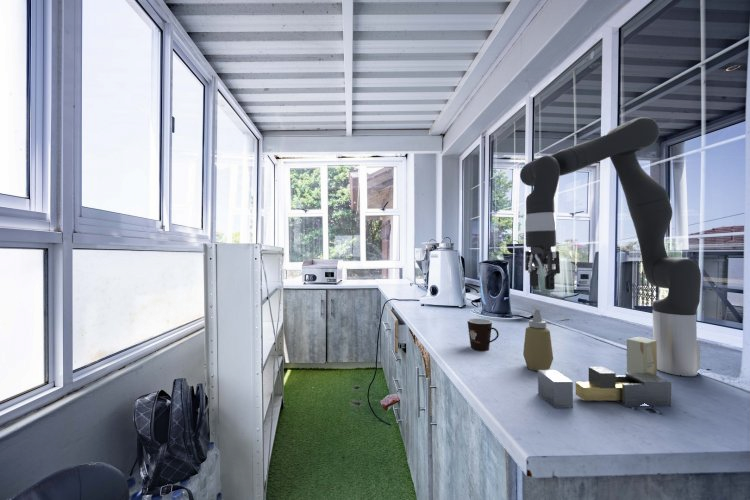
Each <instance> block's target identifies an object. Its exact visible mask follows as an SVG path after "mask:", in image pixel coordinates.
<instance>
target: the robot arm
mask: <svg viewBox="0 0 750 500" xmlns="http://www.w3.org/2000/svg"><path fill="white" fill-rule="evenodd" d="M659 137H660V127H659V124H658V122H656V120H655V119H653V118H650V117H648V116H647V117H646V116H642V117H641V116H640V117H637V118H633V119H631V120H629V121H626V122H624V123H622V124H620V125H618V126H616V127H614V128H612V129H610V130H609V131H608V132H607V134H604V135H602V136H599V137H596V138H592V139H590V140H587V141H584V142H580V143H578V144H575V145H572V146H569V147H567V148H564V149H561V150H559V151H557V152H555V153H553V154H551V155H543V156H540V157H538V158H535V159H534V160H532V161H530V162H528V163H525V165H524V166H523V167H522V168H521V170H520V173H519V177H520V181H521V183H523V184H524V185H526V186H527V187H528V186H529V187H533V189H532V191H531V193H529V194H528V195H527V196H526V199H525V225H524V226H525V227H524V228H525V247H526V248H531V250H525V253H524V254H525V256H524V257H525V258H524V259H525V260H524V261H525V262H524V270H525V272H526V271H527V273H528V274H529V286H530V287H538V286H539V285H540V284H539V271H540V270H542V271H543V274H544V289H545V290H546V291H554V290H555V288H556V287H555V276H557V275H558V274H559V275H560V273H561V268H560V267H561V266H560V265H561V263H560V262H561V261H560V252H559V250H552V248H553V247H556V246H557V226H556V224H557V222H556V214H555V195H556V192H557V191H558V190H557V189H558V185H559V181H560V177H562V176H565V175H569V174H572V173H574V172H577V171H580V170H582V169H585V168H587V167H590V166H592V165H594V164H597V163H598V162H601V161H603V160H606V159H608V158H609V159H610V160H611V163H612V165H613V167H614V169H615V171H616V174H617V177H618V179H619V182H620V185H621V189H622V191H623V193H624V197H625V201H626V205H627V208H628V212H629V215H630V218H631V221H632V223H633V226H634V230H635V233H636V237H637V241H638V244H639V245H638V246H639V250H640V251H639V252H640V255H641V262H642V267H643V268H642V269H643V272H644V275H645V278H646V280H647V281H648V283H649V284H650V285H652V286H653V287H656V288H661V289H667V290H668V293H667V296H666V297H663V298H662V299H661V298H660V299H655V300H654V301H653V302H652V339H653V340H657V371H661V372H662V373H666V374H671V375H674V376H680V375H681V376H682V377H696V376H697V375H698V374H697V371H698V370H699V369H701V366H702V365H701V362H702V361H701V341H700V340H699V339H697V334H698V333H697V309H698V307H699V305H700V302H701V301H700V299H701V284H702V273H701V269H700V266H699V265H698V263H697V262H696V261H695V260H693V259H691V258H685V257H669V256H668V254H667V250H666V246H665V238H666V237H665V236H666V233H667V231H668V228H669V227H670V224H671V221H672V218H673V208H672V204H671V202H670V198H669V194H668V192H667V189H665V187H663V185H662V184H661V183H660V182H658V181H657V180H656V179H655V178H653V177H652V176H651V175H650V174H648V173H647V172H646V171H645V170H644V169H643V168H642V166H641V164H640V162H639V159H638V157H637V154H636V153H638V152H641V151H644V150H646V149H648V148H650V147H651V146H653V145H654V144H655V143H656V142H657V140H658V139H659Z"/></svg>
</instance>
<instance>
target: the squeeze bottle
mask: <svg viewBox="0 0 750 500" xmlns="http://www.w3.org/2000/svg"><path fill="white" fill-rule="evenodd" d="M523 343H524V344H523V354H522V355H523V358H524V361H525V364H526V366H527V368H528V369H529V370H532V371H536V372H538V370H551V366H552V363H553V362H554V361H553V360H554V354H553V353H554V352H553V347H552V346H553V345H552V337H551V331H550V329H549V328H547V321H545V320H543V318H542V313H541V310H540V308H535V309H534V313H533V317H532V319H529V320H528V326H527V327H526V328H525V333H524V342H523Z"/></svg>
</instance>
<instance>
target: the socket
mask: <svg viewBox="0 0 750 500" xmlns="http://www.w3.org/2000/svg"><path fill="white" fill-rule="evenodd" d="M573 385H574V382H573V381H572V380H571V379H570V378H568V377H567V376H565V375H564V374H562V373H560V372H559V371H557V370H556V369H549V370H538V371H537V393H538V395H539V396H540V397H541V398H542V399H543V400H544V401H546V403H548V404H549V405H550V406H551V407H552V408H553V409H573V408H574V386H573Z"/></svg>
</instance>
